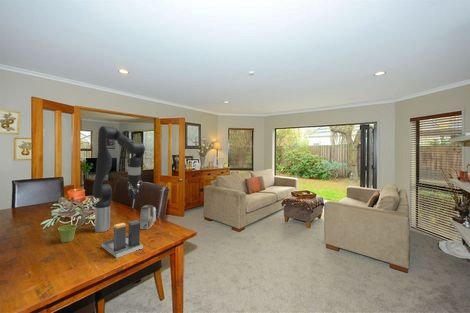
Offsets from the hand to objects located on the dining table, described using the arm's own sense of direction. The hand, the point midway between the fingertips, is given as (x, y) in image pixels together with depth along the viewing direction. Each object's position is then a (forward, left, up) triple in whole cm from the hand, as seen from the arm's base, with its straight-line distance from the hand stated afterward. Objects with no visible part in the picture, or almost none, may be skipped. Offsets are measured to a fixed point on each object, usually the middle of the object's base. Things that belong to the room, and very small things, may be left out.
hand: (132, 197), depth 135 cm
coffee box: (-13, +18, -28) cm, 36 cm away
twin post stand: (+7, -9, -28) cm, 30 cm away
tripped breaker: (+13, -13, -26) cm, 32 cm away
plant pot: (-28, -27, -28) cm, 48 cm away
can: (-21, +26, -28) cm, 44 cm away
